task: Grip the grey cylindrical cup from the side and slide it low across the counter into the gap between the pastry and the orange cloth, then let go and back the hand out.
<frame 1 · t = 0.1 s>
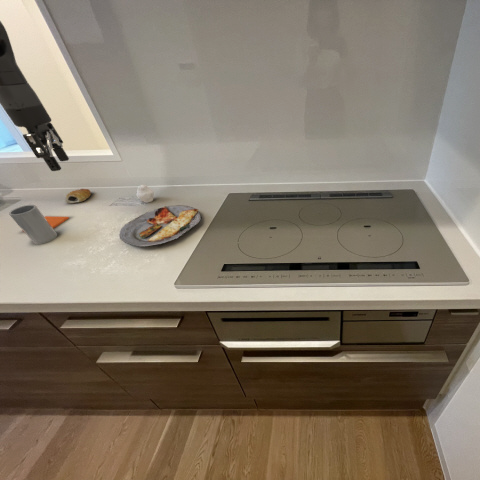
hand: (61, 165, 78), 23 cm above the worktop, tool pointing down, fingers open, 8 cm apart
grey cylindrical cup: (45, 238, 87), on the worktop
pastry: (80, 199, 110), on the worktop
white lumpy ball: (148, 201, 107), on the worktop
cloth: (47, 224, 94), on the worktop
food plate: (165, 228, 91), on the worktop
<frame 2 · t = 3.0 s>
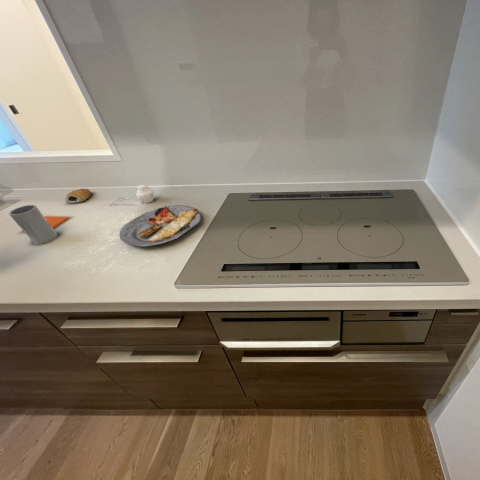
nothing on the worktop moved.
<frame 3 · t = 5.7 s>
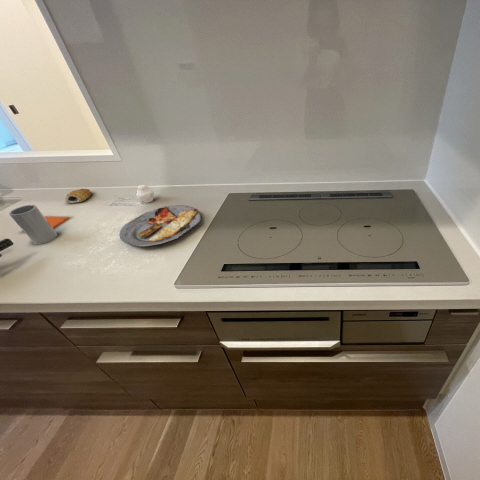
nothing on the worktop moved.
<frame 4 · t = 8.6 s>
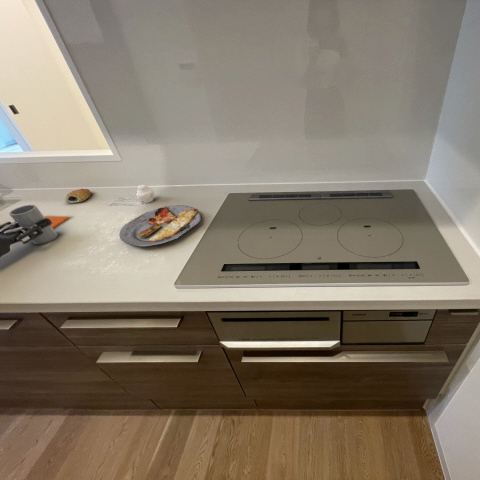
hand: (41, 219, 86), 6 cm above the worktop, tool horizontal, fingers closed on grey cylindrical cup, 6 cm apart
grey cylindrical cup: (45, 238, 87), on the worktop, touching gripper
everything else where it was.
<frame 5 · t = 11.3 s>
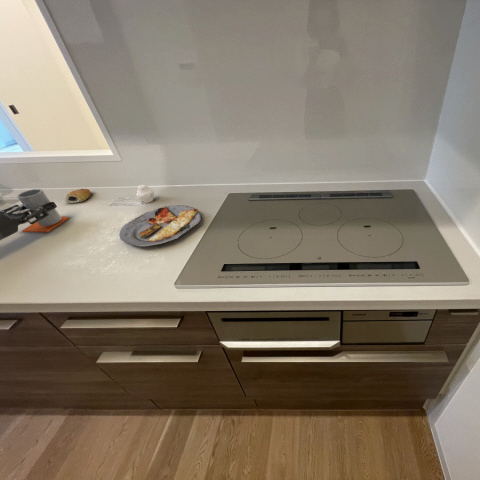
hand: (46, 203, 91), 8 cm above the worktop, tool horizontal, fingers closed on grey cylindrical cup, 6 cm apart
grey cylindrical cup: (50, 221, 93), point 2 cm above the worktop, touching gripper
everything else where it was.
when the fingers open (6 cm above the worktop, at t = 14.5 s): grey cylindrical cup stays where it is, on the worktop.
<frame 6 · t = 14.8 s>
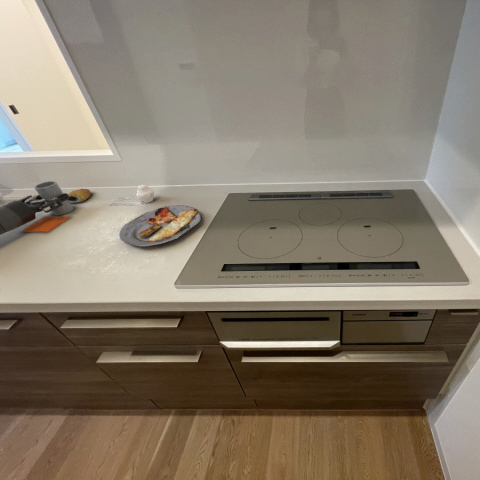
hand: (59, 194, 100), 6 cm above the worktop, tool horizontal, fingers open, 8 cm apart
grey cylindrical cup: (63, 211, 102), on the worktop
everything else where it was.
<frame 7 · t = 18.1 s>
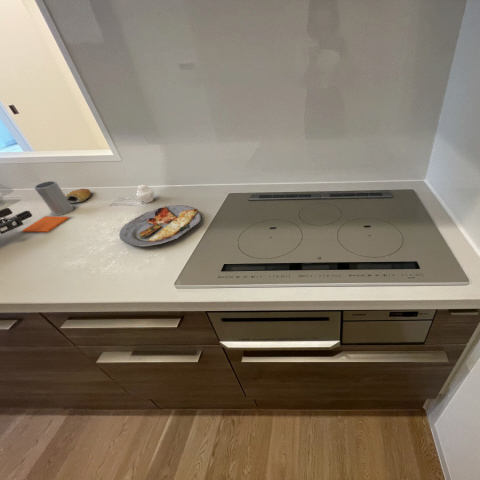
hand: (19, 211, 90), 6 cm above the worktop, tool horizontal, fingers open, 8 cm apart
nothing on the worktop moved.
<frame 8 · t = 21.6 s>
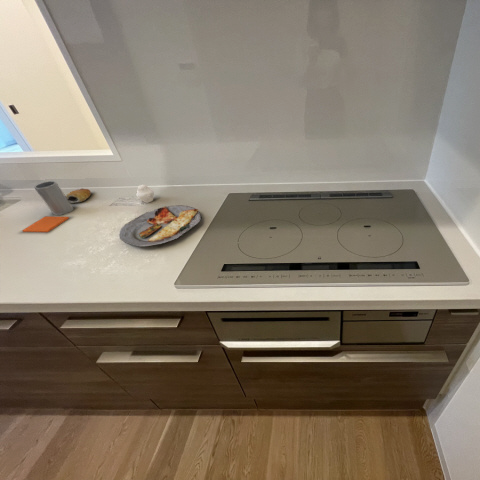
nothing on the worktop moved.
at the end: grey cylindrical cup 0.1 cm from the target spot on the worktop beside the pastry, on the worktop; grey cylindrical cup tilted 0°; the gripper is holding nothing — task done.
